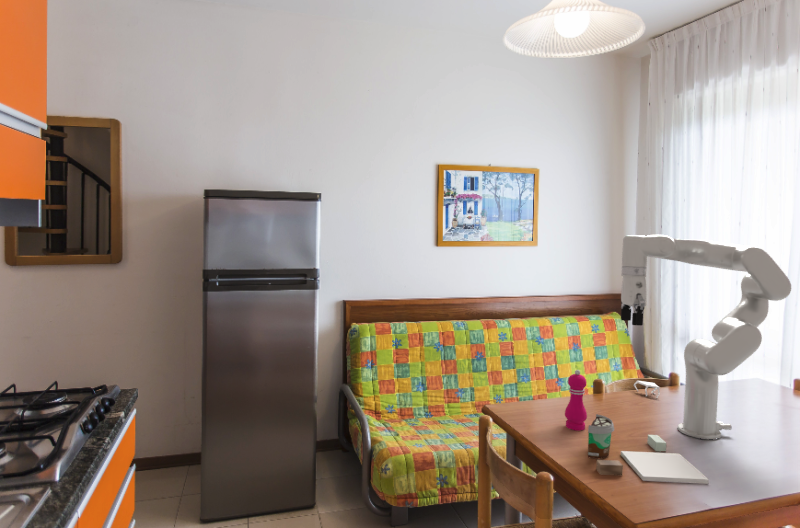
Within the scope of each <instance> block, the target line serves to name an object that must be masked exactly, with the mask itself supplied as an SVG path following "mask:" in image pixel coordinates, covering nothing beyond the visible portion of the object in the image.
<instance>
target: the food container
mask: <svg viewBox="0 0 800 528" xmlns="http://www.w3.org/2000/svg"><path fill="white" fill-rule="evenodd" d="M595 414H596V413H595ZM614 426H615V425H614V422H613V420H612V419H611V418H609V417H607V416H605V415H601V414H599V413H597V414H596V415H595V419H593V421H592V422H591V424H588V427H587V428H588V430H587V431H588V432H587V434H588V437H587V438H588V440H587V445H588V446H587V458H589V457H590V458H591V459H596V460H602V459H606V458H608V457H609V456H610V448H611V443H612V442H611V440H612V433H613V432H614V431H615V427H614ZM598 458H600V459H598Z"/></svg>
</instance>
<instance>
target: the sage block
mask: <svg viewBox="0 0 800 528" xmlns="http://www.w3.org/2000/svg"><path fill="white" fill-rule="evenodd" d="M647 444H648V446H650V448H652V449H653V450H654V451H655V452H661V451H666V452H667V442H666V441H665V440H664V439H663V438H661V437H660V436H659V435H658V434H647Z"/></svg>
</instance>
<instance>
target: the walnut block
mask: <svg viewBox="0 0 800 528" xmlns="http://www.w3.org/2000/svg"><path fill="white" fill-rule="evenodd" d="M623 466H624V465H623V464H622V462H620V460H616V459H615V460H614V459H613V460H611V459H596V469H595V470H596V471H597V472H598V474H599V475H601V476H603V475H605V476H621V477H622V476H623V472H624V471H623V470H624V469H623V468H624V467H623Z"/></svg>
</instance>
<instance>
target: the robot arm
mask: <svg viewBox="0 0 800 528" xmlns="http://www.w3.org/2000/svg"><path fill="white" fill-rule="evenodd" d="M621 253H622V254H621V255H622V256H621V257H622V258H621V277H622V283H621V294H620V303H621V305H620V308H621V309H620V314H621V315H620V320H621V321H626V322H627V321H632V322H631V325H632V326H640V327H641V326H643V324H644V313H645V307H646V306H647V281H646V278H647V266H648V265H647V264H648V263H647V262H648V258H654V259H655V258H656V259H663V260H667V261H668V260H669V261H674V262H675V261H676V262H681V263H685V264H689V265H695V266H702V267H707V268H708V267H709V268H716V269H722V270H727V271H729V270H730V271H736V272H737V271H738V272H746V273H747V274H746V275H744V276H743V278H742V280H741V282H740V289H741V290H740V291H741V297H740V302H739V303H738V305H737V306H736V307H734V309H732V311H730V312H729V313H728V314H727V315H725V316H724V317H723V318H722V319H721V320H719V321H718V322H717V323H716V324H714V326H713V328H712V330H711V336H712V338H713V340H714V341H715V342H717V343H715V342H712V341H711V340H707V339H703V338H697V339H693V340H690V341H689V342H688V343H687V344H686V346H685V347H684V353H683V358H684V359H683V360H684V366H685V381H684V382H685V384H684V400H683V401H684V403H683V419H682V420H683V422H681V423H679V424H677V430H678V431H679V432H680V433H681V434H684V435H687V436H689V437H692V438H696V439H700V438H701V439H702V440H709V439H713V440H717V439H716V438H719V439H721V437H722V432H721V431H722V430H725V431H731V430H732V424H730V423H723V421H717V418H718V417H717V416H718V415H717V413H718V397H719V376H725V375H728V374H729V373H731V372H733V371H735V369H737V368H738V367H739V366H740V365H741V364H743V363H744V362H745V361H746V360H747V359H749V358H750V357H751V356H752V355H753V354H755V353H756V351H757V350H758V349H759V347H760V346H761V343H762V341H763V338H762V337H763V336H762V332H761V331H760V329H759V328H758V327H759V326H760V325H761V324H763V322H764V321H765V320H766V319H767V317H768V313H769V301H774V302H777V301H782V300H784V299H786V298H788V296H789V295H790V294H791V291H792V284H791V281H790V279H789V277H788V276H787V275H786V273H785V272H784V271H783V270H782V268H781V267H780V266H779V265H778V264H777V263H776V261H775V260H774V259H773V257H771V256H770V254H769V253H768V252H766V251H765V250H764V249H763V248H762V247H759V246H757V245H744V244H743V245H741V244H734V243H725V242H719V241H714V240H707V239H681V238H673V237H670V236H668V235H666V234H665V235H664V234H650V235H649V234H648V235H647V236H645V235H640V234H639V235H637V234H635V235H634V234H631V235H629V234H627V235H624V237H623V239H622V252H621ZM631 307H632V308H631ZM632 310H633V312H632Z"/></svg>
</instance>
